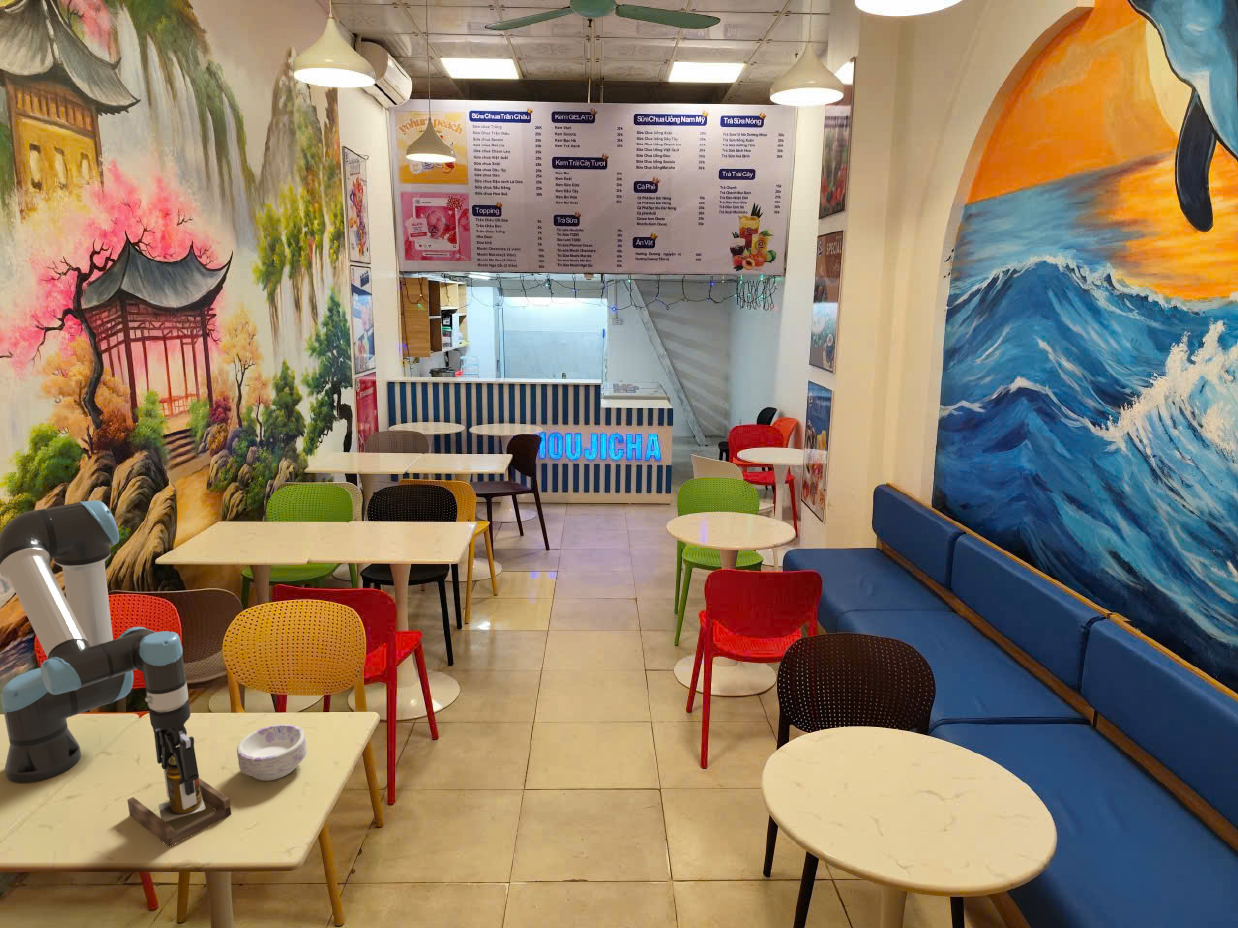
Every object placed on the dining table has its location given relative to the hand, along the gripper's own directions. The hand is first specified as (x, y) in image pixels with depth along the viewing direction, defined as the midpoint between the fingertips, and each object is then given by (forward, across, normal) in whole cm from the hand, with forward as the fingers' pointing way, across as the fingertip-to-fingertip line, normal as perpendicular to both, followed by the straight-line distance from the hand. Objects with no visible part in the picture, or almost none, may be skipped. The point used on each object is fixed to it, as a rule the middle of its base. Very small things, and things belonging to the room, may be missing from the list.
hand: (182, 799), depth 179 cm
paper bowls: (+5, -1, +22) cm, 23 cm away
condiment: (+2, 0, 0) cm, 2 cm away
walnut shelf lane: (+4, -2, 0) cm, 5 cm away
